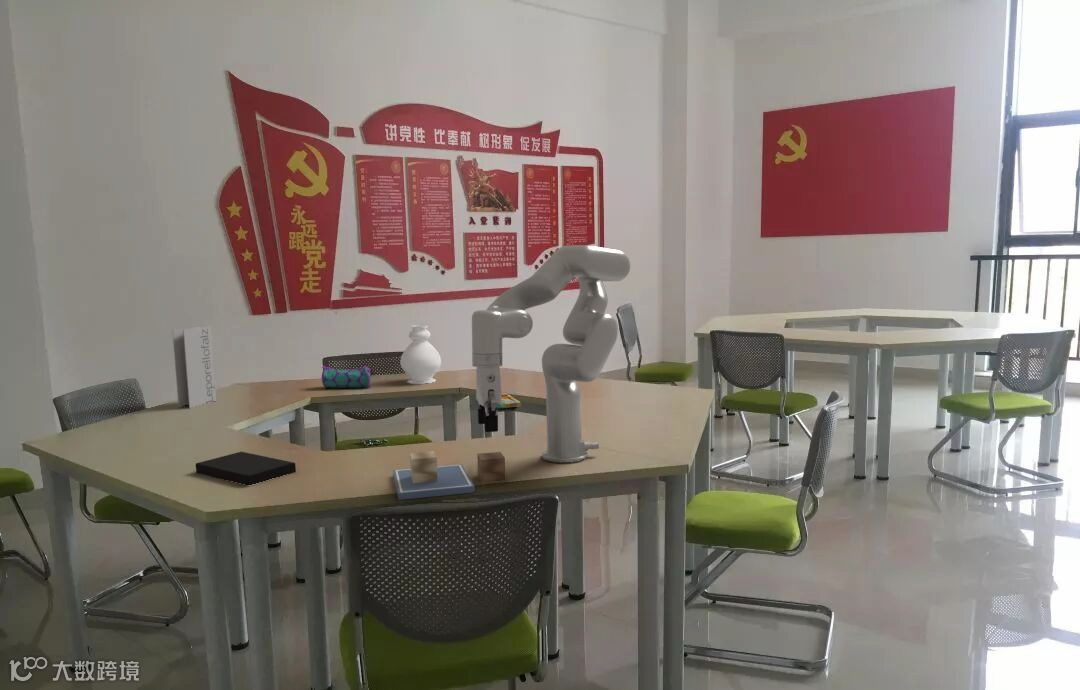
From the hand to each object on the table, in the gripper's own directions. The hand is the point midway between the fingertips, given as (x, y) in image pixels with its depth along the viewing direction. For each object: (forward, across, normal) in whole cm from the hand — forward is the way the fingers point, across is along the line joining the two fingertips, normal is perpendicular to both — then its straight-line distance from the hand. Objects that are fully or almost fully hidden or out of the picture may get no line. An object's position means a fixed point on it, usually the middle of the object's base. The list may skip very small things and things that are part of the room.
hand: (487, 427), depth 194 cm
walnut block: (+13, 0, -1) cm, 13 cm away
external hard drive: (+15, +27, +61) cm, 68 cm away
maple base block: (+12, 0, +16) cm, 20 cm away
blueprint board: (+14, 0, +14) cm, 20 cm away
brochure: (+14, +134, +91) cm, 162 cm away
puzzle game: (+12, +85, -19) cm, 88 cm away
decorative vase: (+11, +154, +2) cm, 154 cm away
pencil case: (+12, +150, +34) cm, 155 cm away
